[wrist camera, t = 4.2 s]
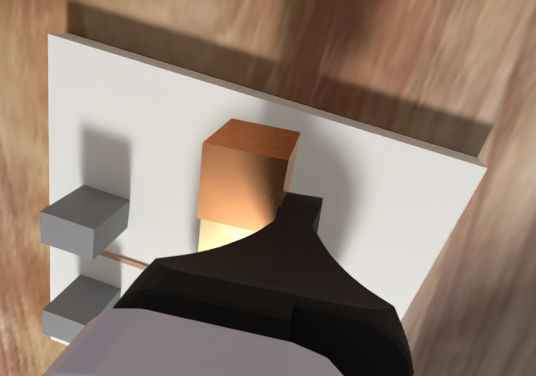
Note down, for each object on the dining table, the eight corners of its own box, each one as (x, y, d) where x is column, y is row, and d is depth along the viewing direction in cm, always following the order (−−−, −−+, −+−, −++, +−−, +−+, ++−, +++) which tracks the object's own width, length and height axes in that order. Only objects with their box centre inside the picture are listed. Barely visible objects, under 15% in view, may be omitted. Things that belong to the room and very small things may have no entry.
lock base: (477, 157, 15) (520, 203, 11) (332, 422, 23) (329, 501, 19) (67, 33, 16) (-17, 36, 12) (64, 325, 24) (11, 381, 20)
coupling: (296, 428, 17) (288, 496, 15) (152, 386, 18) (121, 444, 15) (379, 148, 11) (388, 183, 9) (159, 103, 12) (111, 124, 10)
